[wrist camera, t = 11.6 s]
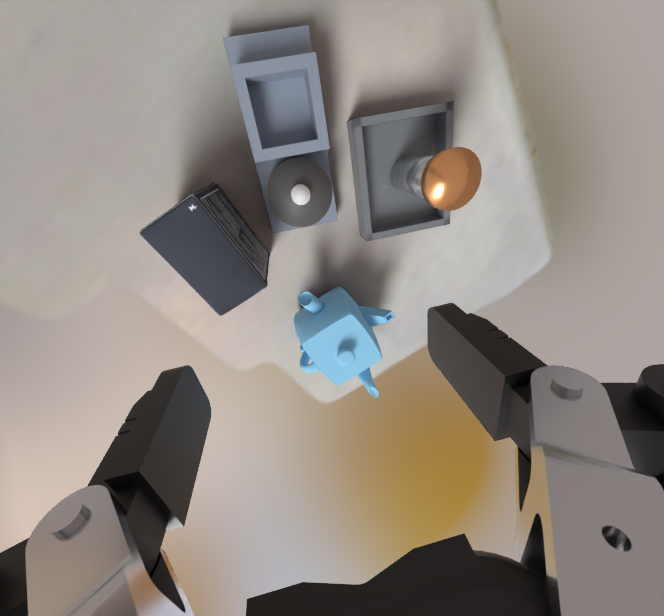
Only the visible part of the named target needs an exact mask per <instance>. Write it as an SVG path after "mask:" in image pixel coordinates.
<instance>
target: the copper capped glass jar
mask: <svg viewBox="0 0 664 616" xmlns="http://www.w3.org/2000/svg"><path fill="white" fill-rule="evenodd" d="M390 181H391V184H392V186H393V187H394V188H395V189H396V190H398V191H400V192H404V193H408V194H411V195H415V196H419V197H423V198H424V199H425V200H426V202H427V203H428V204H429V205H431V206H432V207H434V208H438V209H441V210H445V211H452V210H456V209H459V208H461V207H462V206H464V205H465V204H467V203H468V202H469V201H470V200H471V199H472V197H473V196H474V195H475V193H476V191H477V189H478V187H479V184H480V181H481V164H480V161H479V159H478V157H477V156H476V154H475V153H474V152H472V151H471V150H469V149H467V148H463V147H455V148H447V149H444V150H441V151H439V152H438V153H436V154H435V155H434V156H404V157H401V158H400V159H398V160H397V161H396V162H395V163H394V164H393V166H392V168H391V171H390Z"/></svg>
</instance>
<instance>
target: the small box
mask: <svg viewBox="0 0 664 616" xmlns="http://www.w3.org/2000/svg"><path fill="white" fill-rule="evenodd" d="M139 233H140V235H141V236H142V237H143V238H144V239H145V240H146V241H147V242H148V243H149V244H150V245H151V246H152V247H153V248H154V249H155V250H156V251H157V252H158V253H159V254H160V255H161V256H162V257H163V258H164V259H165V260H166V261H167V262H168V263H169V264H170V265H171V266H172V267H173V268H174V269H175V270H176V271H177V272H178V273H179V274H180V275H181V276H182V277H183V278H184V279H185V280H186V282H187V283H188V284H189V285H190V286H191V287H192V288H193V289H194V290H195V291H196V292H197V293H198V294H199V295H200V296H201V297H202V298H203V299H204V300H205V301H206V302H207V303H208V304H209V305H210V306H211V307H212V308H213V309H214V310H215V311H216V313H217V314H218V315H220V316H222V315H224V314H225V313H227V312H229V311H230V310H232V309H233V308H235V307H237V306H238V305H240V304H241V303H243V302H244V301H246V300H247V299H249V298H250V297H252V296H254V295H255V294H257V293H258V292H260V291H261V290H263V289H264V288H266V287H267V274H268V265H269V264H268V263H269V257H270V254H269V253H268V252H267V250H266V249H265V247H264V246H263V245H262V243H261V242H260V241H259V239H258V238H257V237H256V235H255V234H254V232H253V231H252V230H251V229H250V227H249V226H248V225H247V223H246V222H245V221H244V219H243V218H242V217H241V215H240V214H239V212H238V211H237V210H236V209H235V207H234V206H233V205H232V203H231V202H230V200H229V199H228V198H227V197H226V195H225V194H224V193H223V191H222V190H221V189H220V188H219V186H218V185H217V184H215V183H212V184H211V185H210V186H208V187H206V188H204V189H201V190H200V191H198V192H195V193H193V194H190V195H189V196H188V197H186V198H185V199H183V200H182V201H181V202H179V203H178V204H177V205H175V206H174V207H172V208H171V209H170V210H168V211H167V212H166V213H164V214H163V215H161V216H160V217H158V218H157V219H156V220H154V221H153V222H152V223H150V224H149V225H147V226H146V227H144V228H143V229H142V230H140V232H139Z"/></svg>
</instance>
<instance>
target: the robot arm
mask: <svg viewBox="0 0 664 616" xmlns="http://www.w3.org/2000/svg"><path fill="white" fill-rule="evenodd" d="M428 350H429V353H430V356H431V358H432V360H433V362H434V363H435V365H436V366H437V367H438V369H439V370H440V371H441V372H442V374H443V375H444V376H445V378H446V379H447V380H448V381H449V383H450V384H451V385H452V386H453V388H454V389H455V390H456V392H457V393H458V394H459V396H460V397H461V398H462V399H463V401H464V402H465V403H466V405H467V406H468V407H469V408H470V410H471V411H472V412H473V414H474V415H475V416H476V417H477V419H478V420H479V421H480V423H481V424H482V425H483V426H484V428H485V429H486V430H487V432H488V433H489V434H490V435H491V437H492V438H493V439H494V441H497V440H501V439H504V438H508V437H511V439H512V440H513V441H514V442H515V443H516V448H515V475H516V477H515V478H516V530H515V539H514V557H513V559H511V558H508V557H504V556H501V555H498V554H495V553H490V552H484V551H475V550H472V548H471V546H470V544H469V542H468V540H467V538H466V536H465V534H461V535H458V536H454V537H451V538H448V539H444V540H441V541H438V542H435V543H431V544H428V545H425V546H421V547H418V548H415V549H413V550H411V551H410V552H408V553H407V554H406V555H404V556H403V557H401V558H400V559H399V560H397V561H396V562H395V563H393V564H392V565H390V566H389V567H387V568H386V569H385V570H383V571H382V572H380V573H379V574H378V575H377V576H375V577H373V578H372V579H371V580H369V581H368V582H366V583H364V584H361V585H349V584H328V583H306V582H302V583H299V584H296V585H292V586H289V587H286V588H282V589H279V590H276V591H272V592H269V593H266V594H263V595H259V596H256V597H253V598H249V599H247V609H246V616H664V364H660V365H652V366H648V367H646V368H645V369H644V370H643V371H642V373H641V375H640V377H639V379H638V382H637V383H599V382H598V381H597V380H596V379H594V378H593V377H591V376H590V375H588V374H586V373H584V372H581V371H579V370H576V369H572V368H569V367H564V366H547V365H546V364H545V363H543V362H542V361H541V360H539V359H538V358H537V357H535V356H534V355H533V354H532V353H530V352H529V351H527V350H526V349H525V348H523V347H522V346H521V345H519V344H518V343H517V342H516V341H514V340H513V339H512V338H509V337H508V335H507V334H505V333H504V332H503V331H501V330H499V329H498V328H497V327H496V326H495V325H493V324H492V323H491V322H489V321H488V320H487V319H484V318H482V317H479V316H476V315H474V314H472V313H470V314H466V313H465V312H464V311H462V310H461V309H460V308H459V307H457V306H456V305H455V304H453V303H448V304H444V305H440V306H436V307H432V308H429V310H428ZM210 419H211V407H210V402H209V400H208V397H207V395H206V393H205V392H204V390H203V388H202V386H201V384H200V382H199V380H198V378H197V376H196V374H195V372H194V370H193V369H192V367H190V366H188V365H187V366H183V367H179V368H174V369H170V370H166V371H163V372H162V373H161V374H160V376H159V378H158V379H157V381H156V383H155V385H154V387H153V389H152V390H151V391H147V392H146V393H145V394H144V395H143V397H141V398H140V400H138V401H137V403H136V404H135V405H134V406H133V407H132V409H131V411H130V413H129V414H128V416H127V418H126V420H125V423H123V425H122V427H121V428H120V430H119V432H118V436H116V437H115V439H114V441H113V442H112V444H111V446H110V448H109V449H108V451H107V453H106V454H105V456H104V458H103V460H102V461H101V463H100V465H99V467H98V468H97V470H96V472H95V474H94V475H93V477H92V479H91V481H90V482H89V484H88V486H87V487H85V488H83V489H80V490H78V491H77V492H74V493H73V494H71V495H69V496H68V497H66V498H65V499H63V500H62V501H61V502H60V503H58V504H57V505H56V506H55V507H53V508H52V509H51V510H50V511H49V512H48V513H47V514H46V515H45V516H44V518H43V519H42V520H41V521H40V522H39V524H38V525H37V526H36V528H35V529H34V531H33V532H32V534H31V536H30V538H28V539H26V540H24V541H22V542H21V543H18V544H16V545H15V546H13V547H11V548H9V549H7V550H5V551H3V552H2V553H0V616H195V615H194V613H193V611H192V609H191V607H190V605H189V602H188V600H187V598H186V596H185V594H184V591H183V589H182V587H181V585H180V583H179V580H178V578H177V576H176V574H175V572H174V569H173V567H172V565H171V563H170V561H169V559H168V556H167V554H166V552H165V550H164V549H163V548H162V547H161V545H162V541H163V538H164V534H165V532H167V531H170V530H174V529H177V528H181V527H184V524H185V520H186V516H187V512H188V508H189V504H190V500H191V496H192V492H193V488H194V483H195V480H196V475H197V472H198V467H199V464H200V460H201V456H202V452H203V447H204V443H205V439H206V435H207V431H208V427H209V423H210Z"/></svg>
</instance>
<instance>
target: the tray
mask: <svg viewBox="0 0 664 616" xmlns="http://www.w3.org/2000/svg"><path fill="white" fill-rule="evenodd" d="M453 105H454V101H451V102H445V103H440V104H434V105H429V106H423V107H417V108H412V109H406V110H400V111H395V112H389V113H383V114H378V115H372V116H367V117H361V118H355V119H352V120H350V121H348V122H347V126H348V135H349V144H350V152H351V161H352V169H353V178H354V187H355V195H356V204H357V213H358V221H359V230H360V236H361V237H362V238H363V239H364V240H365V241H371V240H375V239H380V238H385V237H390V236H395V235H399V234H404V233H409V232H414V231H418V230H423V229H428V228H433V227H437V226H442V225H447V224H450V211H445V210H441V209H438V208H434V207H432V206H431V205H429V204H428V203H427V202H426V200H425V199H424V198H423V197H419V196H415V195H411V194H408V193H404V192H400V191H398V190H396V189H395V188H394V187H393V186H392V184H391V181H390V171H391V168H392V166H393V164H394V163H395V162H396V161H397V160H398V159H400V158H401V157H404V156H434V155H435V154H436V153H438V152H439V151H441V150H444V149H447V148H452V137H453Z"/></svg>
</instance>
